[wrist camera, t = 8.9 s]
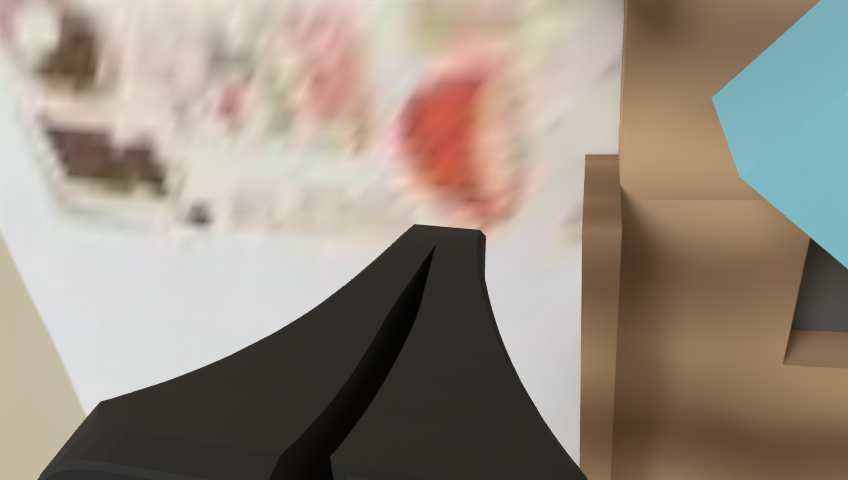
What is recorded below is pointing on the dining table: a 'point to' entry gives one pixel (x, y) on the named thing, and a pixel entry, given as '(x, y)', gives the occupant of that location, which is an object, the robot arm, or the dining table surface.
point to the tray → (703, 276)
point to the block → (797, 124)
